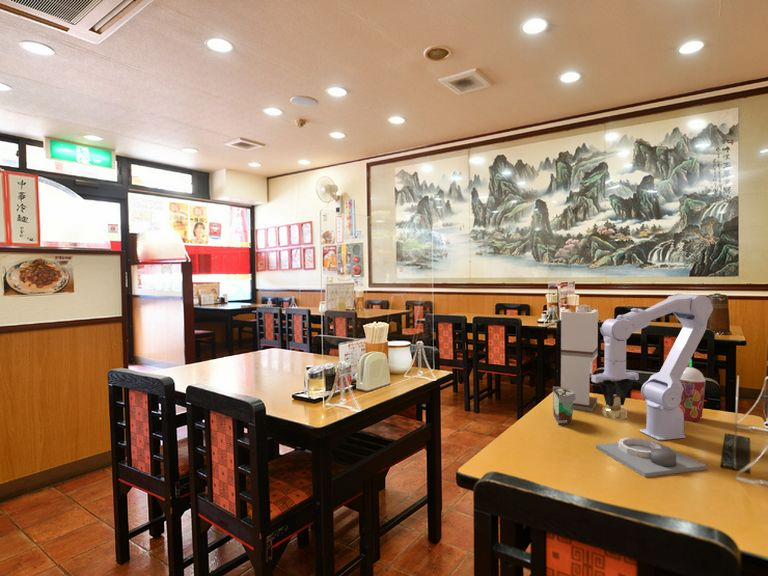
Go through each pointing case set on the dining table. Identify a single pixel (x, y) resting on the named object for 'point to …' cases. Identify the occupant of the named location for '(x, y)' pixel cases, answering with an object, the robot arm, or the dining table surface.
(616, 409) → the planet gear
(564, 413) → the food container
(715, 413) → the dining table surface
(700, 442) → the dining table surface
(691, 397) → the smoothie
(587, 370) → the white stepped column
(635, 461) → the carrier plate
